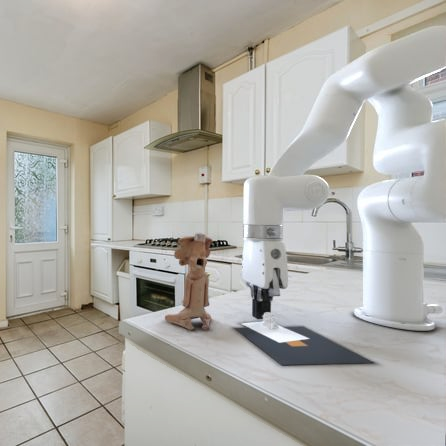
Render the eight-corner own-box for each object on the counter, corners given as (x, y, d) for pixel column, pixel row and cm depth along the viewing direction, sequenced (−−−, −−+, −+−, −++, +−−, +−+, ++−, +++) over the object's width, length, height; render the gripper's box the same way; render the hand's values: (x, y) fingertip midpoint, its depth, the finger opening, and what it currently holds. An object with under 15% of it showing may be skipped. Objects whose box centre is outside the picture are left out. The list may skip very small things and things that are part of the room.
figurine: (210, 318, 63) (209, 231, 63) (220, 333, 55) (220, 233, 55) (163, 317, 64) (163, 231, 64) (167, 331, 56) (167, 233, 56)
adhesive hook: (270, 325, 59) (270, 310, 59) (280, 330, 56) (280, 314, 56) (258, 327, 58) (258, 312, 58) (268, 331, 55) (268, 316, 55)
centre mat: (303, 326, 58) (303, 326, 58) (374, 363, 43) (374, 362, 43) (233, 328, 57) (233, 327, 57) (281, 365, 42) (281, 364, 42)
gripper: (304, 235, 52) (303, 331, 52) (259, 232, 67) (258, 307, 67) (265, 235, 52) (264, 331, 52) (229, 232, 67) (228, 307, 67)
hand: (261, 317), depth 60 cm, fingers closed
